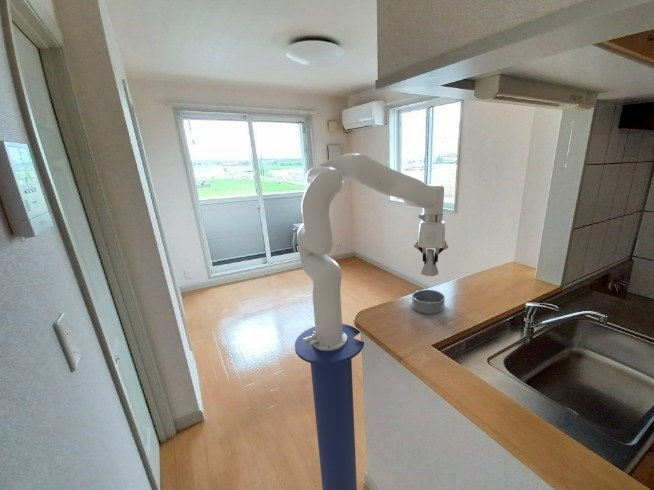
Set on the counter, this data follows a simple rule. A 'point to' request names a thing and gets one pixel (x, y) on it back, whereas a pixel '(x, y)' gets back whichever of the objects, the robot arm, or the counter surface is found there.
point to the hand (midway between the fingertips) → (430, 262)
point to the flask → (430, 264)
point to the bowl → (428, 301)
